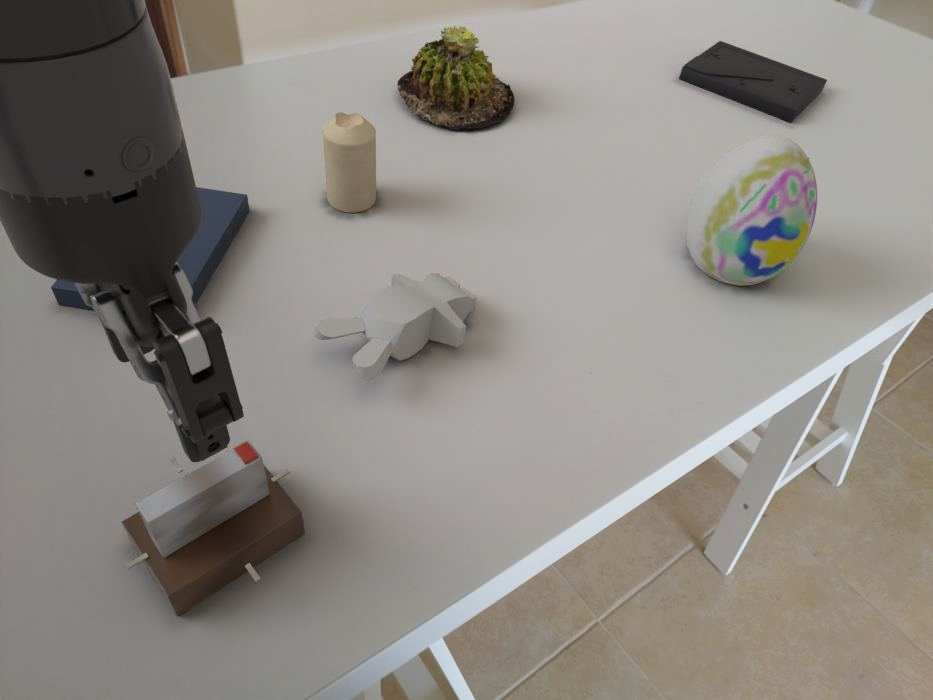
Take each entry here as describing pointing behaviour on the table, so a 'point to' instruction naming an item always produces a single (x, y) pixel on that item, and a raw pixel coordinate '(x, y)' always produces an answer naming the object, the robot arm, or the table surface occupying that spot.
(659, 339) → the table surface
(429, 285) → the bunny figurine
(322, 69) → the table surface
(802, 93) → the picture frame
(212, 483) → the light grey narrow block
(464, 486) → the table surface
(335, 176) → the candle
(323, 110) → the table surface
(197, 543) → the tap base
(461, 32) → the cactus
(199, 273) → the button block
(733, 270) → the decorative egg
